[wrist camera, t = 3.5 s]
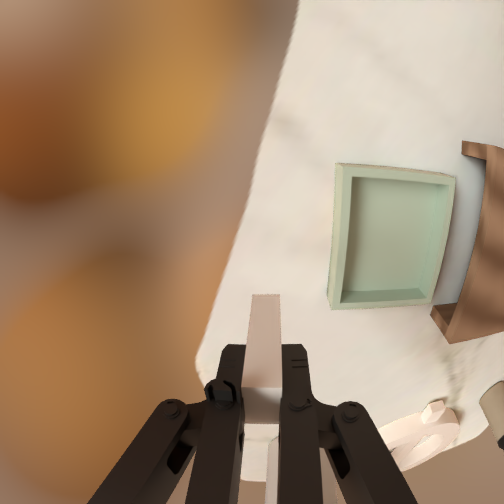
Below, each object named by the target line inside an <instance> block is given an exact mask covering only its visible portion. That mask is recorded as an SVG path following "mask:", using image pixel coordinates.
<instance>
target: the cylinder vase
mask: <svg viewBox="0 0 504 504" xmlns="http://www.w3.org/2000/svg"><path fill="white" fill-rule="evenodd" d="M320 460H321V473H322V489H323V504H338V503H337V490H336V477H335V475H334V472H333V470H332V467H331V465H330V462H329V460H328V458H327V455H326V453H325V450H324V448H320ZM277 482H278V437H277V438H275V439H274V440H272V441H271V442H270V444H269V446H268V462H267V479H266V496H265V504H277Z"/></svg>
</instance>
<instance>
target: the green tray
mask: <svg viewBox="0 0 504 504" xmlns="http://www.w3.org/2000/svg"><path fill="white" fill-rule="evenodd" d="M455 182H456V178H454V177H451V176H448V175H445V174H442V173H437V172H430V171H423V170H415V169H406V168H397V167H387V166H375V165H361V164H345V163H335V191H334V213H333V230H332V244H331V256H330V267H329V277H328V287H327V297H328V301H329V304H330V308H331V310H345V309H367V308H384V307H398V306H411V305H423V304H430V303H431V300H432V297H433V293H434V290H435V287H436V283H437V279H438V276H439V272H440V268H441V264H442V260H443V255H444V251H445V246H446V242H447V237H448V231H449V226H450V220H451V214H452V207H453V200H454V191H455Z"/></svg>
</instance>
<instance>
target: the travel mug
mask: <svg viewBox="0 0 504 504" xmlns="http://www.w3.org/2000/svg"><path fill="white" fill-rule="evenodd" d="M479 404H480V406H481V408H482V410H483V412H484V414H485V416H486V418H487V420H488V422H489V425H490V427H491V429H492V431H493V433H494V436H495V438H496V441H497V443H498V446H499V447H500V448H501V449H503V450H504V382H503V381H502V382H499V383H497V384H495V385H494V386H492V387H491V388H490V389H489V390H488V391H487V392H486V393H485V394H484V395H483V396H482V398H481V400H480V402H479Z"/></svg>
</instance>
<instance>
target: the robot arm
mask: <svg viewBox="0 0 504 504" xmlns="http://www.w3.org/2000/svg"><path fill="white" fill-rule="evenodd" d="M204 391H205V395H206V398H207V399H206V400H204V401H202V402H199V403H194V404H187V405H185V403H184V402H182V401H180V400H177V399H167V400H165V401H163V402H161V403H160V404H159V405H158V406H157V408H156V409H155V410H154V412H153V413H152V415H151V416H150V417H149V419H148V420H147V422H146V423H145V424H144V426H143V427H142V429H141V430H140V431H139V433H138V434H137V436H136V437H135V438H134V440H133V441H132V443H131V444H130V445H129V447H128V448H127V449H126V451H125V452H124V454H123V455H122V456H121V458H120V459H119V461H118V462H117V463H116V465H115V466H114V468H113V469H112V470H111V472H110V473H109V474H108V476H107V477H106V479H105V480H104V481H103V483H102V484H101V485H100V487H99V488H98V489H97V491H96V492H95V494H94V495H93V497H92V498H91V499H90V500H89V502H88V503H87V504H166V502H167V501H168V499H169V497H170V496H171V494H172V492H173V491H174V489H175V487H176V485H177V483H178V482H179V480H180V478H181V477H182V475H183V473H184V471H185V469H186V468H187V466H188V464H189V462H190V460H191V459H192V457H193V455H194V453H195V451H196V454H195V459H194V464H193V468H192V473H191V477H190V482H189V487H188V492H187V496H186V501H185V504H237V502H238V492H239V483H240V474H241V464H242V455H243V445H244V435H245V434H244V423H250V424H279V436H278V482H277V504H323V489H322V473H321V460H320V448H324V450H325V453H326V455H327V458H328V460H329V462H330V465H331V467H332V470H333V472H334V475H335V477H336V479H337V482H338V484H339V486H340V489H341V491H342V494H343V496H344V499H345V501H346V503H347V504H418V503H417V501H416V499H415V497H414V495H413V494H412V491H411V490H410V488H409V486H408V484H407V482H406V480H405V478H404V477H403V475H402V473H401V471H400V469H399V468H398V466H397V464H396V462H395V460H394V458H393V457H392V455H391V453H390V451H389V449H388V448H387V446H386V444H385V442H384V440H383V439H382V437H381V435H380V433H379V432H378V430H377V428H376V426H375V425H374V423H373V421H372V419H371V417H370V416H369V414H368V412H367V410H366V409H365V408H364V407H363V406H362V405H361V404H359V403H357V402H352V401H349V402H344V403H342V404H339V405H338V406H337V407H336V406H331V405H326V404H323V403H321V402H319V401H318V400H316V399H315V398H314V396H313V394H312V391H311V382H310V374H309V365H308V357H307V351H306V350H305V348H304V347H303V345H302V344H281V316H280V295H252V304H251V312H250V320H249V328H248V336H247V344H246V345H238V344H228V345H227V346H226V347H225V348H224V349H223V351H222V354H221V358H220V363H219V367H218V372H217V376H216V379H214V380H211V381H210V382H209V383H207V384H206V386H205V388H204Z"/></svg>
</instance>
